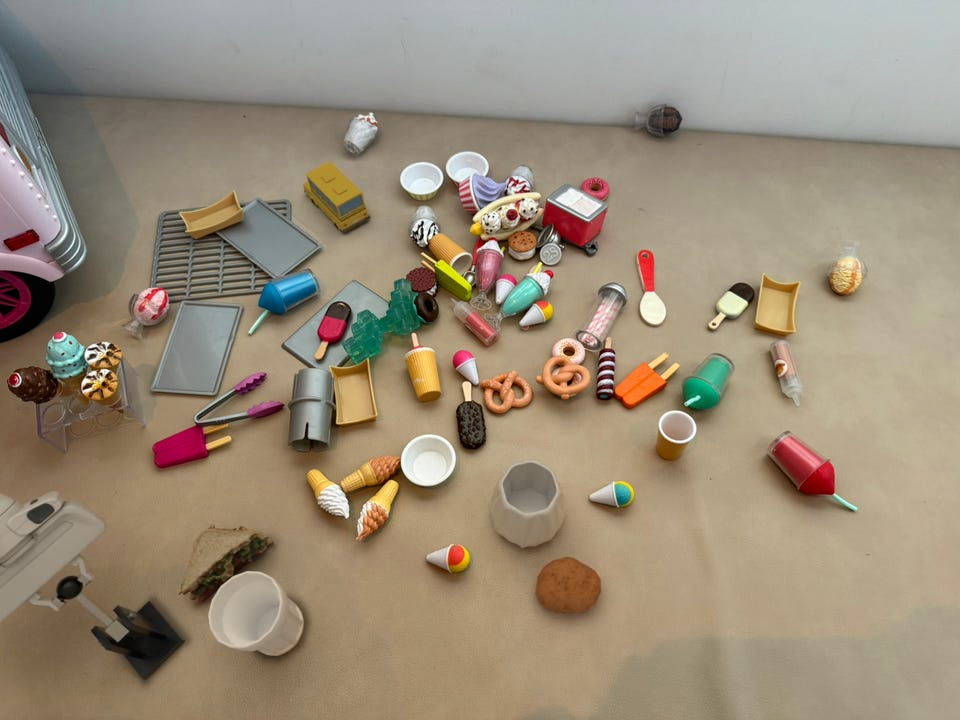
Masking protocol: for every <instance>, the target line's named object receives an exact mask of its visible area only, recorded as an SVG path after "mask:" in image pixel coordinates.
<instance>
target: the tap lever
mask: <svg viewBox="0 0 960 720" xmlns="http://www.w3.org/2000/svg"><path fill="white" fill-rule="evenodd" d="M77 577H78V575H67V576H64V577H62V579H60V580H59V581H58V582H57V584H56V587H55V593H56V595H58V596H59V597H60V598H61V599H64V600H65V601H71V600H73V599H74V600H76V601H77V602H78V603H79V604H81V606H83V607H84V609H86V610H87V611H89V613H91V614H92V615H93V616H94V617H95V618H96V619H98V620H99V621H100V622H101V623H102V624H104V625H105V627H104V628H105V632H106V633H107V634H108V635H110V636H111V637H112V638H113V639H114V640H115V641H117V642H119V641H120V640H121V639H122V638H123V637H124V636H125V635H126V634H127V633H128V632H129V631H130V629H128V628H127V627H126V626H125V625H124V623H123V622H122V621H121V620H120V618H119V617H118V616H117V615H116V616H115V617H114V618H113V617H112V616H110V614H108V613H107V612H106V611H105V610H104V609H103V608H101V607H100V606H99V605H98V604H97V603H96V602H95V601H94V600H92V599H91V598H90V597H89V596H88V595H86V594H85V592H83V589H84V585H83V582H80V581H78V580H77Z"/></svg>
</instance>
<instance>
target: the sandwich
mask: <svg viewBox="0 0 960 720" xmlns="http://www.w3.org/2000/svg"><path fill="white" fill-rule="evenodd" d="M274 543H275V542H274V540H272V539H271V538H269V537H268V535H267V534H265V533H263V532H262V533H261V532H257V531H256V530H252V529H249V528H246V527H244V526H242V525H238V529H237V527H234V528H233V529H228V528H219V527H218V528H217V527H216V526H215V524H213V523H211V524H210V526H209V527H207V528H205V529H202V530H201V531H200V532H199V533H198V534H197V535H196V536H195V538H194V540H193V543H192V550H191V554H190V559H189V564H188V568H187V572H186V574H185V577H184V579H183V580H182V582H181V584H180V591H179V592H178V596H179V595H181V594H182V595H183V596H186V595H188V594H189V593H190V594H189V595H190V596H189V598H188V599H189V600H190V601H196V600H197V599H198V604H199V605H202V604H203V603H204V602H205V601H206V600H208V598H209V597H211V596H212V594H214V593H216V592H217V591H218V590H219V588H220V586H222V585H223V584H224V583H225V582H227V581H228V580H229V579H230V578H232V577H233V576H235V575H237V573H239V571H240V570H242V569H243V568H244V567H245V566H246V565H248V564H249V563H252V562H253V561H254V562H256V558H257V557H258V556H260V555H262V553H264V552H265V551H266V550H267V549H269V547H271V546H272V545H273V544H274Z"/></svg>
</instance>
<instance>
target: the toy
mask: <svg viewBox="0 0 960 720" xmlns="http://www.w3.org/2000/svg"><path fill="white" fill-rule="evenodd" d="M305 176H306V179H307V181H305V182H302V186H303V189H304V190H303V192H304V193H305V194H306V195H307V196H308V197H309V199H310V200H311V202H312V204H313V205H315V206H318V207H319V209H320V210H321V211H322V212H323V213H324V215H326V216H327V217H328V218H329V219H330V220H331V221H332V224H334V226H335V228H336V229H337V230H340V231H341V233H342V234H346V233H348V232H349V231H351V230H353V229H354V228H357V227H358V226H360V225H362V224H364V223H365V222H367V221H369V220H370V219H371V215H370V214H369V210H368V208H367V207H366V203H365V197H364V194H363V191H362V190H360V188H358V187H357V185H355V184H354V183H353V182H352V180H350V179H349V178H348V177H347V176H346V175H345V174H344V173H343V172H342V171H341V170H340V169H339V168H338V167H337V166H336V165H335V164H334V163H333V162H332V161H331V160H330V161H328V162H326V163H324V164H322V165H320V166H318V167H316V168H314V169H312V170H310V171H308V172H307V173H305Z"/></svg>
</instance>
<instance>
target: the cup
mask: <svg viewBox="0 0 960 720" xmlns="http://www.w3.org/2000/svg"><path fill="white" fill-rule="evenodd" d="M207 617H208V618H207V619H208V625H209V630H210V632H211V633H212V635H213V637H214V638H215V640H216V641H217V642H218V643H220V644H222V645H224V646H225V647H227V648H228V649H229V648H230V649H233V650H236V651H239V652H255V651H258V652H259V653H262V654H264V655H267V656H272V657H280V656H283V655H284V654H287V653H289V652H290V651H292V649H294V648H295V647H296V646H297V645H298V644H299V642H300V640H301V638H302V636H303V635H304V629H305V625H306V624H305V617H304V614H303V612H302V610H301V608H300V607H299V606H298V605H297V604H296V603H295V602H293V601H292V599H290V598H289V597H288V593H286V591H285V589H283V587H282V586H281V584H280V583H279V582H278V581H277V580H276V579H275V578H273V577H272V576H271V575H268V574H266V573H264V572H262V571H251V570H246V571H243V572H241V573H238V574H235V575H234V576H233V577H232V578H230V579H229V580H228V581H227V582H225V583H224V584H223V585H222V586H220V587H219V588H218V589H217V590H216V592H215V594H214V596H213V598H212V599H211V602H210V606H209V610H208V614H207Z"/></svg>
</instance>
